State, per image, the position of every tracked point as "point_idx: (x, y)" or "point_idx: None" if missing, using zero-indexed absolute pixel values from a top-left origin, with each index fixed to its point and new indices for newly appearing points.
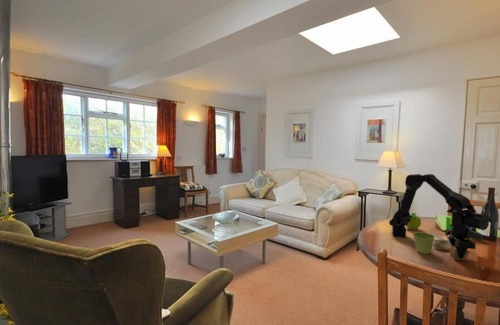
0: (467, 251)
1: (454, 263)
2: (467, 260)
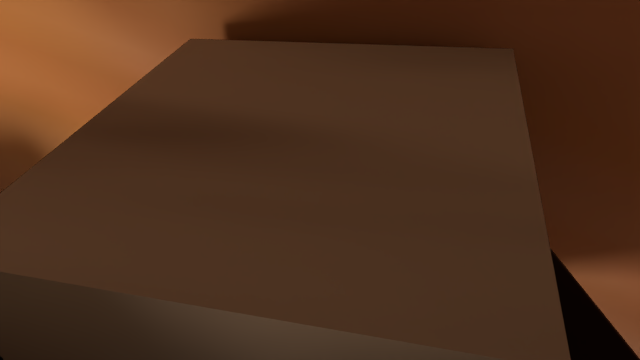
0: (560, 321)
1: (631, 324)
2: (510, 60)
